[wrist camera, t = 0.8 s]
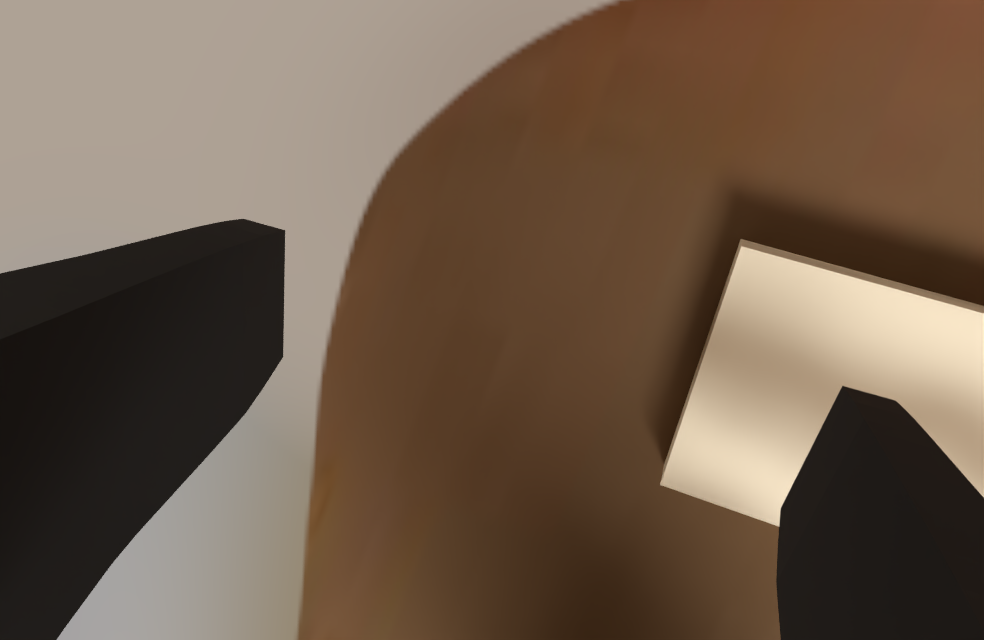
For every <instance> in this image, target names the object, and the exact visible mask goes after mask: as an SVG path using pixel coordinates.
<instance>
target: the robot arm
mask: <svg viewBox="0 0 984 640" xmlns="http://www.w3.org/2000/svg"><path fill="white" fill-rule="evenodd" d="M284 262H285V230H282V229H278V228H274V227H271V226H267V225H264V224H260V223H256V222H253V221H249V220H246V219H238V220H230V221H224V222H219V223H213V224H209V225H204V226H200V227H195V228H191V229H187V230H183V231H179V232H174V233H171V234H167V235H163V236H159V237H155V238H151V239H147V240H143V241H139V242H135V243H131V244H127V245H123V246H119V247H115V248H111V249H107V250H103V251H99V252H95V253H91V254H87V255H82V256H78V257H73V258H69V259H64V260H60V261H55V262H51V263H46V264H42V265H37V266H33V267H28V268H24V269H19V270H15V271H10V272H5V273H1V274H0V640H56V639H57V638H58V637H59V635H60V634H61V632H62V631H63V629H64V628H65V627H66V625H67V624H68V623H69V621H70V620H71V618H72V617H73V616H74V614H75V613H76V612H77V610H78V609H79V608H80V606H81V605H82V603H83V602H84V601H85V599H86V598H87V597H88V595H89V594H90V593H91V591H92V590H93V588H94V587H95V586H96V585H97V583H98V582H99V580H100V579H101V578H102V576H103V575H104V573H105V572H106V571H107V570H108V568H109V567H110V566H111V564H112V563H113V562H114V560H115V559H116V558H117V557H118V556H119V554H120V553H121V552H122V551H123V550H124V548H125V547H126V546H127V545H128V544H129V543H130V541H131V540H132V539H133V538H134V537H135V535H136V534H137V533H138V532H139V531H140V530H141V529H142V528H143V526H144V525H145V524H146V523H147V522H148V521H149V520H150V519H151V518H152V516H153V515H154V514H155V513H156V512H157V511H158V510H159V509H160V508H161V507H162V506H163V504H164V503H165V502H166V501H167V500H168V499H169V498H170V497H171V496H172V495H173V493H174V492H175V491H176V490H177V489H178V488H179V487H180V486H181V484H182V483H183V482H184V481H185V480H186V479H187V478H188V477H189V476H190V475H191V474H192V473H193V471H194V470H195V469H196V468H197V467H198V466H199V465H200V464H201V463H202V462H203V461H204V459H205V458H206V457H207V456H208V455H209V454H210V453H211V452H212V451H213V449H214V448H215V447H216V446H217V445H218V444H219V442H221V441H222V439H223V438H224V437H225V436H226V435H227V434H228V433H229V432H230V430H231V429H232V428H233V427H234V426H235V425H236V424H237V422H238V421H239V420H240V419H241V418H242V417H243V415H244V414H245V413H246V412H247V410H248V409H249V407H250V406H251V405H252V403H253V402H254V400H255V399H256V397H257V396H258V395H259V393H260V392H261V390H262V389H263V387H264V386H265V384H266V382H267V381H268V380H269V378H270V376H271V375H272V373H273V372H274V370H275V368H276V367H277V365H278V364H279V362H280V361H281V359H282V358H283V328H284V321H283V320H284V264H285V263H284ZM776 582H777V597H778V610H779V622H780V634H781V640H984V497H983V496H982V495H981V494H980V493H979V492H978V490H977V489H976V488H975V487H974V486H973V485H972V484H971V483H970V481H969V480H968V479H967V478H966V477H965V476H964V475H963V473H962V472H961V471H960V470H959V469H958V468H957V466H956V465H955V464H954V463H953V462H952V461H951V460H950V458H949V457H948V456H947V455H946V454H945V453H944V452H943V450H942V449H941V448H940V447H939V446H938V445H937V444H936V442H935V441H934V440H933V439H932V438H931V437H930V436H929V435H928V433H927V432H926V431H925V430H924V429H923V428H922V427H921V426H920V425H919V423H918V422H917V421H916V420H915V419H914V418H913V417H912V416H911V415H910V414H909V413H908V412H907V411H906V410H905V409H904V408H903V407H902V406H901V405H900V404H899V403H898V402H897V401H896V400H892V399H888V398H885V397H881V396H878V395H874V394H870V393H867V392H863V391H860V390H856V389H853V388H849V387H845V386H842V388H841V390H840V392H839V393H838V395H837V397H836V399H835V401H834V403H833V405H832V407H831V409H830V411H829V413H828V415H827V417H826V419H825V421H824V423H823V425H822V427H821V429H820V431H819V433H818V435H817V437H816V439H815V441H814V443H813V445H812V447H811V449H810V451H809V453H808V455H807V457H806V459H805V461H804V463H803V465H802V467H801V469H800V471H799V473H798V475H797V477H796V479H795V481H794V483H793V485H792V487H791V489H790V491H789V493H788V495H787V497H786V499H785V501H784V503H783V505H782V507H781V510H780V525H779V539H778V557H777V581H776Z"/></svg>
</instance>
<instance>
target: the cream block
mask: <svg viewBox="0 0 984 640" xmlns="http://www.w3.org/2000/svg"><path fill="white" fill-rule="evenodd" d="M842 386H845V387H849V388H853V389H856V390H860V391H863V392H867V393H870V394H874V395H878V396H881V397H885V398H888V399H892V400H896V401H897V402H898V403H899V404H900V405H901V406H902V407H903V408H904V409H905V410H906V411H907V412H908V413H909V414H910V415H911V416H912V417H913V418H914V419H915V420H916V421H917V422H918V423H919V425H920V426H921V427H922V428H923V429H924V430H925V431H926V432H927V433H928V435H929V436H930V437H931V438H932V439H933V440H934V441H935V442H936V444H937V445H938V446H939V447H940V448H941V449H942V450H943V452H944V453H945V454H946V455H947V456H948V457H949V458H950V460H951V461H952V462H953V463H954V464H955V465H956V466H957V468H958V469H959V470H960V471H961V472H962V473H963V475H964V476H965V477H966V478H967V479H968V480H969V481H970V483H971V484H972V485H973V486H974V487H975V488H976V489H977V490H978V492H979V493H980V494H981V495H982V496H983V497H984V306H982V305H978V304H975V303H971V302H967V301H964V300H960V299H957V298H953V297H949V296H946V295H942V294H939V293H935V292H931V291H928V290H924V289H920V288H917V287H913V286H910V285H906V284H902V283H899V282H895V281H892V280H888V279H884V278H881V277H877V276H873V275H870V274H866V273H863V272H859V271H855V270H852V269H848V268H845V267H841V266H837V265H834V264H830V263H826V262H823V261H819V260H816V259H812V258H808V257H805V256H801V255H798V254H794V253H790V252H787V251H783V250H779V249H776V248H772V247H769V246H765V245H761V244H758V243H754V242H751V241H747V240H743V239H740V242H739V245H738V248H737V251H736V254H735V257H734V260H733V263H732V266H731V269H730V272H729V275H728V278H727V281H726V284H725V287H724V290H723V293H722V295H721V298H720V301H719V304H718V307H717V310H716V313H715V316H714V319H713V322H712V325H711V328H710V331H709V334H708V337H707V340H706V343H705V346H704V349H703V351H702V354H701V357H700V360H699V363H698V366H697V369H696V372H695V375H694V378H693V381H692V384H691V387H690V390H689V393H688V396H687V399H686V402H685V404H684V407H683V410H682V413H681V416H680V419H679V422H678V425H677V428H676V431H675V434H674V437H673V440H672V443H671V446H670V449H669V452H668V455H667V458H666V460H665V463H664V467H663V473H662V478H661V483H660V485H662V486H665V487H668V488H671V489H674V490H676V491H679V492H682V493H685V494H688V495H691V496H694V497H696V498H699V499H702V500H705V501H708V502H711V503H713V504H716V505H719V506H722V507H725V508H728V509H731V510H733V511H736V512H739V513H742V514H745V515H748V516H751V517H753V518H756V519H759V520H762V521H765V522H768V523H770V524H773V525H776V526H779V525H780V510H781V507H782V505H783V503H784V501H785V499H786V497H787V495H788V493H789V491H790V489H791V487H792V485H793V483H794V481H795V479H796V477H797V475H798V473H799V471H800V469H801V467H802V465H803V463H804V461H805V459H806V457H807V455H808V453H809V451H810V449H811V447H812V445H813V443H814V441H815V439H816V437H817V435H818V433H819V431H820V429H821V427H822V425H823V423H824V421H825V419H826V417H827V415H828V413H829V411H830V409H831V407H832V405H833V403H834V401H835V399H836V397H837V395H838V393H839V392H840V390H841V388H842Z"/></svg>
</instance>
